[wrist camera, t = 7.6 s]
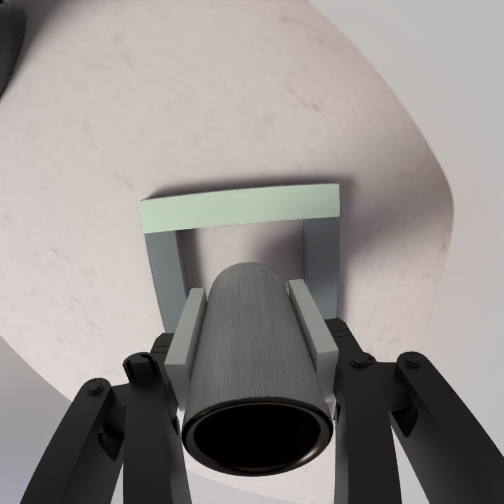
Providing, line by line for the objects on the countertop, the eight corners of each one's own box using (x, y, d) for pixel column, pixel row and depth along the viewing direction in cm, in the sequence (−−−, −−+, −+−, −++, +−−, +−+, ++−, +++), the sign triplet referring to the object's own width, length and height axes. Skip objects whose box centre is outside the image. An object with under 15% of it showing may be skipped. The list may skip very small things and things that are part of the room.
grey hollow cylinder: (225, 249, 16) (205, 378, 6) (299, 277, 16) (363, 411, 7) (199, 316, 17) (167, 461, 7) (267, 338, 18) (290, 482, 8)
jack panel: (145, 198, 17) (138, 201, 16) (331, 182, 17) (338, 183, 16) (210, 457, 26) (210, 466, 24) (316, 448, 26) (318, 457, 25)
